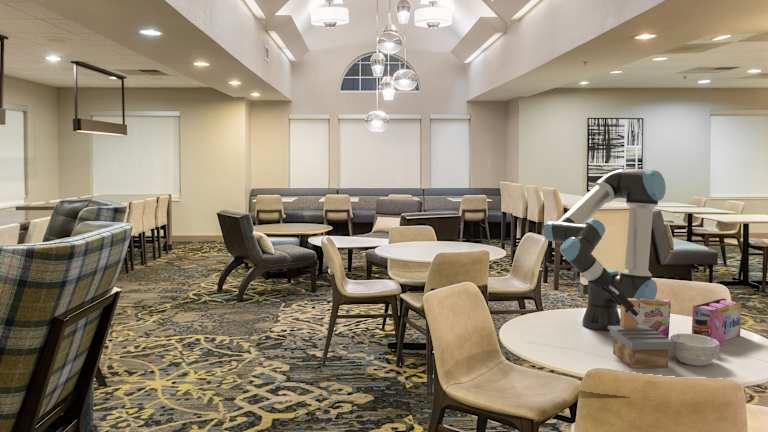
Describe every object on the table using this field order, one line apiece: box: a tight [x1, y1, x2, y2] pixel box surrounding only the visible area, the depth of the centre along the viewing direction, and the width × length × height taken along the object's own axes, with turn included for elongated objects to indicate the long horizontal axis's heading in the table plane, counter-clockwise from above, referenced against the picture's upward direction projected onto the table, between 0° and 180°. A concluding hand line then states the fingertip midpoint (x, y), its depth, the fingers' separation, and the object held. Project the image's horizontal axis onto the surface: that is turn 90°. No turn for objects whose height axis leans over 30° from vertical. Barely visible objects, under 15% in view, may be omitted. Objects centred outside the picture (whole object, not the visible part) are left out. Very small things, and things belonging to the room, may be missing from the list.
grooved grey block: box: [608, 298, 674, 350], centre depth 220 cm, size 20×14×12 cm
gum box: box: [691, 298, 742, 343], centre depth 247 cm, size 24×8×14 cm, turn 126°
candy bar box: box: [637, 298, 672, 339], centre depth 240 cm, size 11×5×16 cm, turn 71°
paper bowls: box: [669, 332, 721, 367], centre depth 219 cm, size 15×15×8 cm
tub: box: [612, 337, 670, 369], centre depth 220 cm, size 16×12×8 cm
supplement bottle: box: [691, 317, 710, 337], centre depth 233 cm, size 6×6×11 cm
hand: (639, 319), depth 229 cm, fingers closed on grooved grey block, 3 cm apart
